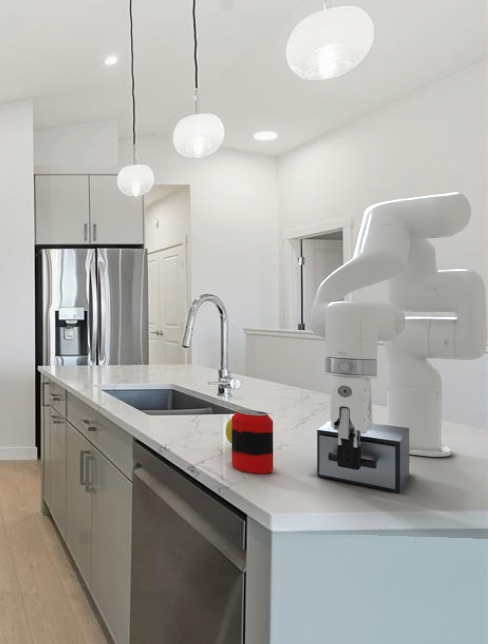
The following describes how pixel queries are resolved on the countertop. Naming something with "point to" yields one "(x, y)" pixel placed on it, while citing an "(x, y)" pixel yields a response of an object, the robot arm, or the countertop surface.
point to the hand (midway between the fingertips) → (349, 467)
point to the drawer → (374, 462)
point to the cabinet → (380, 435)
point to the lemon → (229, 431)
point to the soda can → (252, 441)
